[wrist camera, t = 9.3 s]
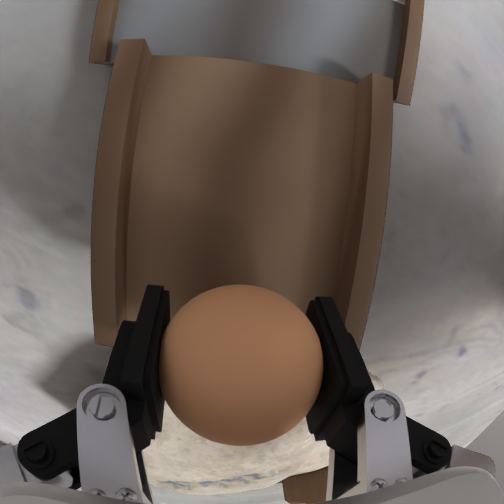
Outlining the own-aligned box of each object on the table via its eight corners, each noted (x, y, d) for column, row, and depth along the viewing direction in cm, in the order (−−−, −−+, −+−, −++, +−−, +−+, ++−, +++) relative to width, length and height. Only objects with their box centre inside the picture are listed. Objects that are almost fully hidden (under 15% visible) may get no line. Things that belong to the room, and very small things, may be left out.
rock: (383, 407, 31) (174, 465, 36) (338, 257, 18) (34, 377, 23) (403, 459, 25) (174, 509, 29) (388, 351, 12) (14, 439, 17)
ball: (288, 358, 13) (310, 463, 8) (169, 352, 12) (157, 463, 8) (319, 259, 10) (374, 380, 6) (166, 246, 9) (131, 376, 5)
